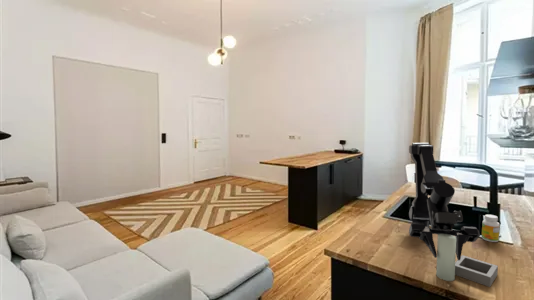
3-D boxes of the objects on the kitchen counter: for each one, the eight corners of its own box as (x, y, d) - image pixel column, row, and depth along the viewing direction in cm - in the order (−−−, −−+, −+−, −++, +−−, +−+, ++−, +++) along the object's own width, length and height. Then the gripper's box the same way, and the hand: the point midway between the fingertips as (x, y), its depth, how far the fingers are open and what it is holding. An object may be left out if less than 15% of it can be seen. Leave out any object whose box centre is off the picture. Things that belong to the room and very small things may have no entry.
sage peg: (443, 271, 88) (445, 232, 87) (458, 279, 84) (460, 238, 82) (432, 274, 87) (434, 235, 85) (446, 282, 82) (448, 241, 81)
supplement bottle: (478, 237, 112) (479, 214, 111) (490, 236, 113) (491, 213, 112) (489, 242, 107) (491, 218, 106) (502, 241, 107) (503, 218, 106)
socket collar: (461, 263, 92) (462, 255, 92) (497, 274, 85) (497, 265, 85) (452, 273, 86) (453, 264, 86) (490, 287, 79) (490, 277, 79)
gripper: (411, 198, 89) (417, 245, 80) (479, 202, 84) (494, 253, 74) (406, 214, 98) (411, 258, 88) (468, 218, 92) (480, 266, 83)
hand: (447, 258), depth 83 cm, fingers open, 6 cm apart
